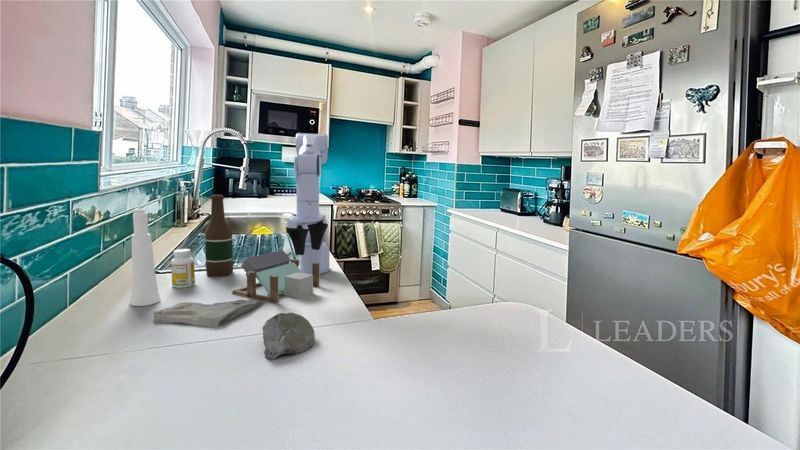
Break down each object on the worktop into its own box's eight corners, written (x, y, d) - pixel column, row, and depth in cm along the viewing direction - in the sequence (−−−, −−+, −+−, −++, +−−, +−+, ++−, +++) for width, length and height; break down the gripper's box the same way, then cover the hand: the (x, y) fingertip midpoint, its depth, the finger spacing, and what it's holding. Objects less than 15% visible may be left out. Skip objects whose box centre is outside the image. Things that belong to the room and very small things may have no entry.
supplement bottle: (187, 281, 107) (185, 247, 106) (199, 284, 105) (197, 249, 103) (167, 286, 102) (165, 250, 101) (180, 289, 100) (178, 253, 99)
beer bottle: (225, 269, 121) (222, 193, 118) (238, 273, 117) (236, 195, 114) (200, 274, 115) (197, 194, 112) (214, 278, 111) (211, 195, 107)
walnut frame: (281, 277, 113) (281, 256, 112) (321, 285, 107) (321, 262, 106) (229, 294, 97) (229, 269, 96) (272, 304, 91) (272, 277, 90)
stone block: (297, 272, 102) (312, 274, 99) (298, 290, 102) (312, 293, 100) (284, 276, 97) (300, 279, 95) (284, 295, 98) (300, 298, 96)
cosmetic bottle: (159, 296, 94) (154, 207, 91) (161, 303, 89) (156, 209, 86) (129, 300, 90) (123, 208, 88) (129, 308, 86) (123, 210, 83)
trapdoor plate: (278, 256, 110) (284, 249, 109) (303, 287, 107) (309, 280, 106) (239, 266, 97) (244, 258, 96) (266, 301, 95) (271, 293, 93)
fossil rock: (147, 324, 78) (146, 313, 78) (192, 301, 93) (192, 292, 93) (229, 329, 77) (229, 318, 76) (262, 305, 92) (262, 295, 91)
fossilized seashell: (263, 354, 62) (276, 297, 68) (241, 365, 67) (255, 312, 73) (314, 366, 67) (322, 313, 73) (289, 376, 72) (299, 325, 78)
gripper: (310, 198, 108) (310, 246, 109) (277, 201, 94) (278, 255, 96) (332, 200, 105) (331, 248, 107) (301, 203, 92) (302, 258, 93)
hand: (308, 252), depth 101 cm, fingers open, 7 cm apart
